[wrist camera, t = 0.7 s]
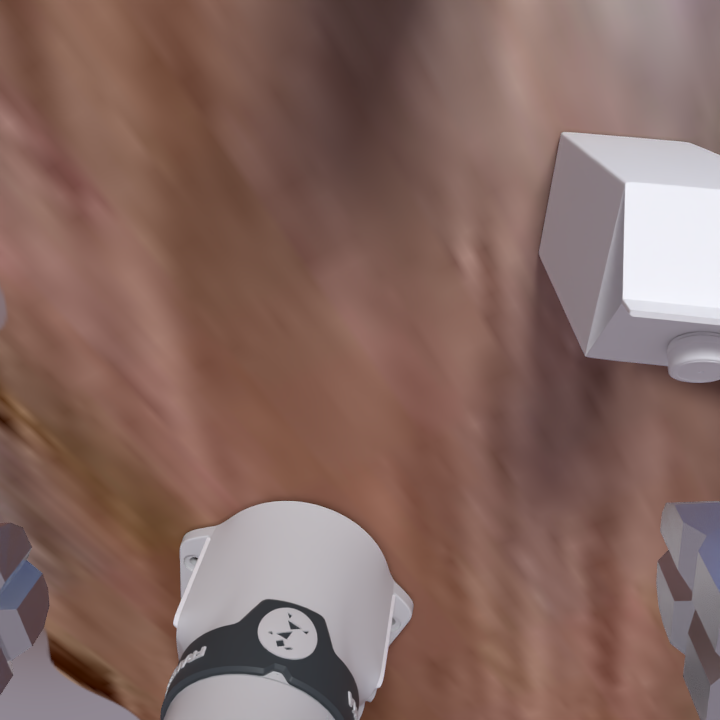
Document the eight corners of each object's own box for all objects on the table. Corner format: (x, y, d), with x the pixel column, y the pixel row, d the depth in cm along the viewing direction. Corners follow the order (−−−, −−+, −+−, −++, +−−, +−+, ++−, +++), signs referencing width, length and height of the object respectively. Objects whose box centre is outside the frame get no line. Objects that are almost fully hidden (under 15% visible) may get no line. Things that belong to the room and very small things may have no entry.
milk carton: (560, 130, 38) (657, 205, 21) (690, 141, 38) (899, 227, 21) (537, 254, 41) (605, 406, 24) (657, 265, 41) (814, 429, 24)
